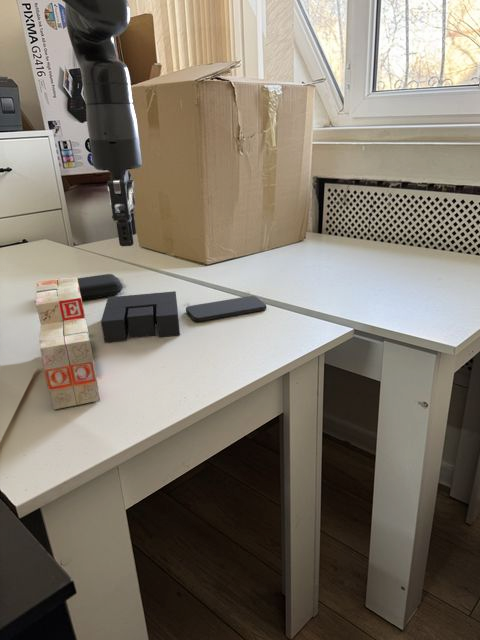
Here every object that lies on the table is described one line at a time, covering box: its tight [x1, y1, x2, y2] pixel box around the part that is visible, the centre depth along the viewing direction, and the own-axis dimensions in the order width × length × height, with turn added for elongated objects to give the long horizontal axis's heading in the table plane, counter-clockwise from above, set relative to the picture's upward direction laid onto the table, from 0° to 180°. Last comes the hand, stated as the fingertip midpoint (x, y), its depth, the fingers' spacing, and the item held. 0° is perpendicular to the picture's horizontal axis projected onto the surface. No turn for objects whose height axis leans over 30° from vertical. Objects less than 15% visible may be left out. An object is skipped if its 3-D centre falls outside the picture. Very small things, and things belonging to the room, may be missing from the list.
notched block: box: [100, 290, 181, 343], centre depth 94 cm, size 13×13×4 cm
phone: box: [185, 295, 267, 322], centre depth 100 cm, size 7×1×15 cm
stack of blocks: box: [35, 276, 101, 410], centre depth 75 cm, size 21×6×12 cm, turn 21°
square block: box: [127, 306, 157, 339], centre depth 91 cm, size 4×4×4 cm
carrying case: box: [77, 273, 124, 301], centre depth 112 cm, size 11×3×15 cm
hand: (128, 239), depth 86 cm, fingers open, 8 cm apart
